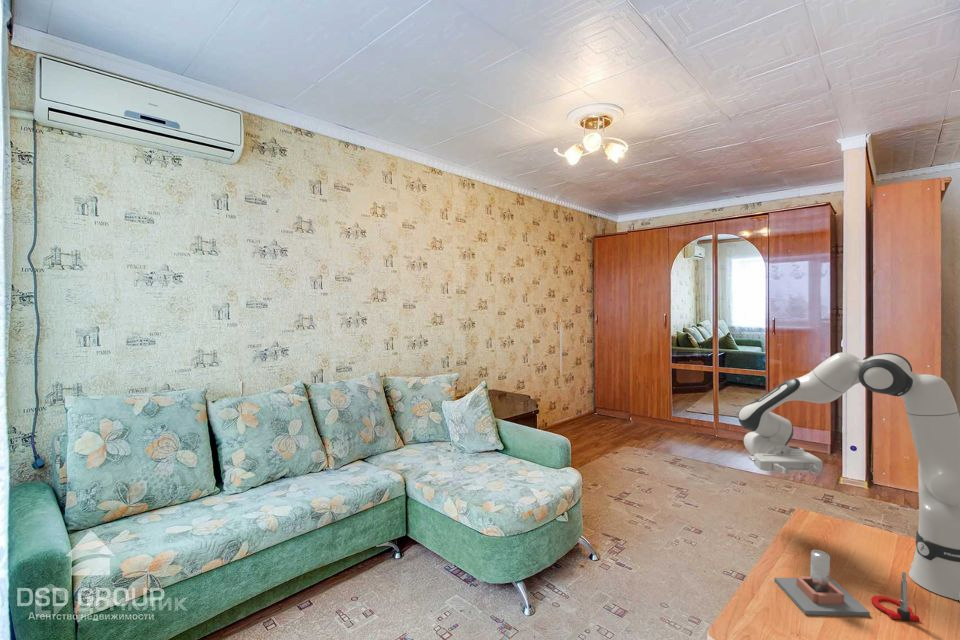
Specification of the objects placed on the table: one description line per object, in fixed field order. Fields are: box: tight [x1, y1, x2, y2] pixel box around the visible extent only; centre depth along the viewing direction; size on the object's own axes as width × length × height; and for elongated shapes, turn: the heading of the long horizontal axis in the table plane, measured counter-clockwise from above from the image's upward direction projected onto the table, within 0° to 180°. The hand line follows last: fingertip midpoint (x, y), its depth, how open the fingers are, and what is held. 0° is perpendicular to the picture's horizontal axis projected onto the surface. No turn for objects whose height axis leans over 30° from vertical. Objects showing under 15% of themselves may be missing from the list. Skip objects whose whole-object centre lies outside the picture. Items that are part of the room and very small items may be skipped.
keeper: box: [773, 575, 871, 617], centre depth 128 cm, size 17×14×4 cm
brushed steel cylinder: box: [809, 549, 831, 593], centre depth 128 cm, size 4×4×12 cm
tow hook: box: [870, 571, 920, 622], centre depth 123 cm, size 8×13×9 cm
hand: (802, 472), depth 144 cm, fingers open, 8 cm apart
